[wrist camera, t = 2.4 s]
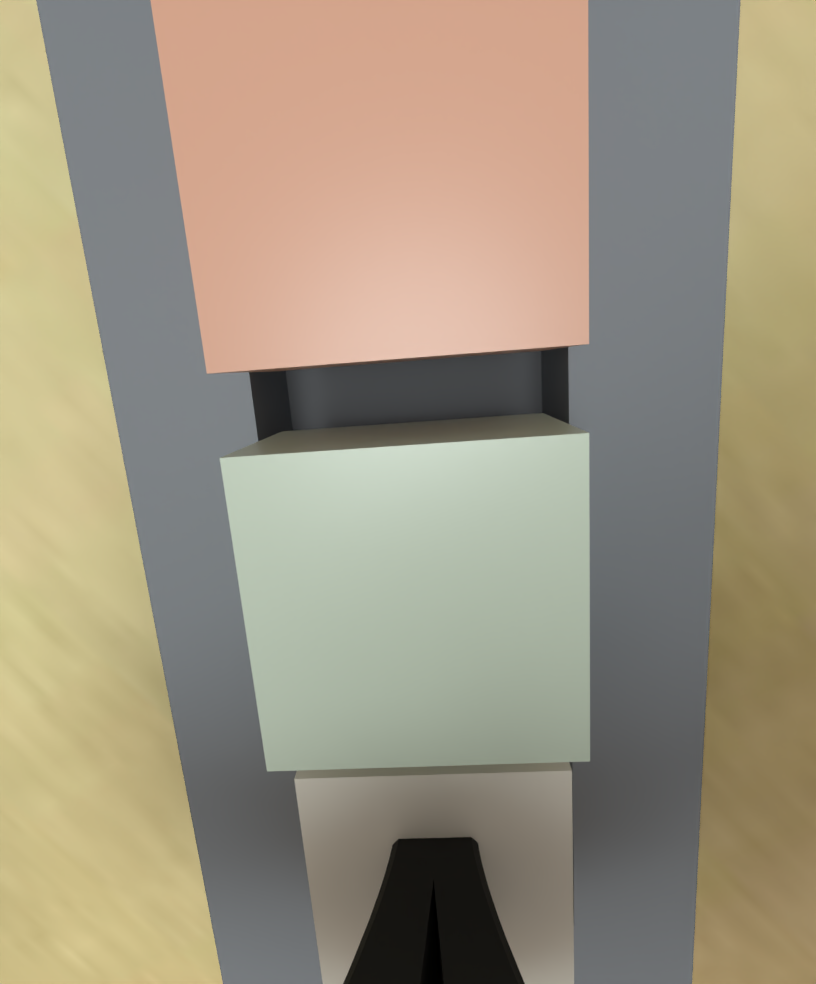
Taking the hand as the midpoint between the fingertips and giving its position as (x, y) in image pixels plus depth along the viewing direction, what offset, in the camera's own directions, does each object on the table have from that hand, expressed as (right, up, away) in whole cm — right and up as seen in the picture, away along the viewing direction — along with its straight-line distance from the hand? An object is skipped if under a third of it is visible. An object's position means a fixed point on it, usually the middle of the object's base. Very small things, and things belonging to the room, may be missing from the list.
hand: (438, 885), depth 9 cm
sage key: (0, +6, 0) cm, 6 cm away
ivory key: (0, +1, +3) cm, 3 cm away
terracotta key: (-1, +11, -1) cm, 11 cm away
